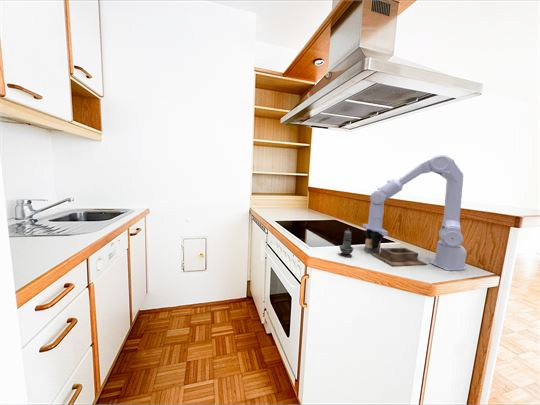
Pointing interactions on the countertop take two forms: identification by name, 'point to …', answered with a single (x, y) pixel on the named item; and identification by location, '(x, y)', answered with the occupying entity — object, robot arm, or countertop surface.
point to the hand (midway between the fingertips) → (372, 246)
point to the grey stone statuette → (346, 245)
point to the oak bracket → (369, 247)
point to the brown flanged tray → (399, 257)
